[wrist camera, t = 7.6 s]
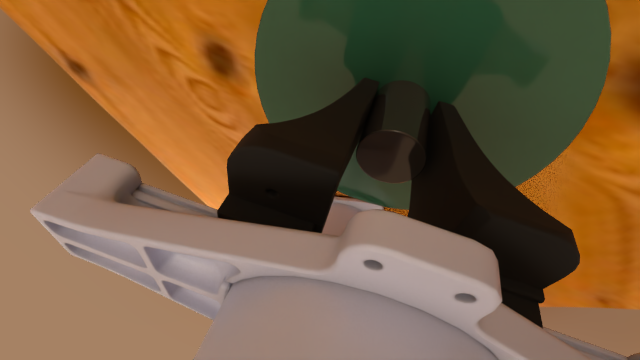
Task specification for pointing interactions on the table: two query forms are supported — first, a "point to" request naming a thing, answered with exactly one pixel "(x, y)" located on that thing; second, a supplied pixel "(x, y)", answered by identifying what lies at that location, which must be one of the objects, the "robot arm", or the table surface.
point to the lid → (437, 78)
